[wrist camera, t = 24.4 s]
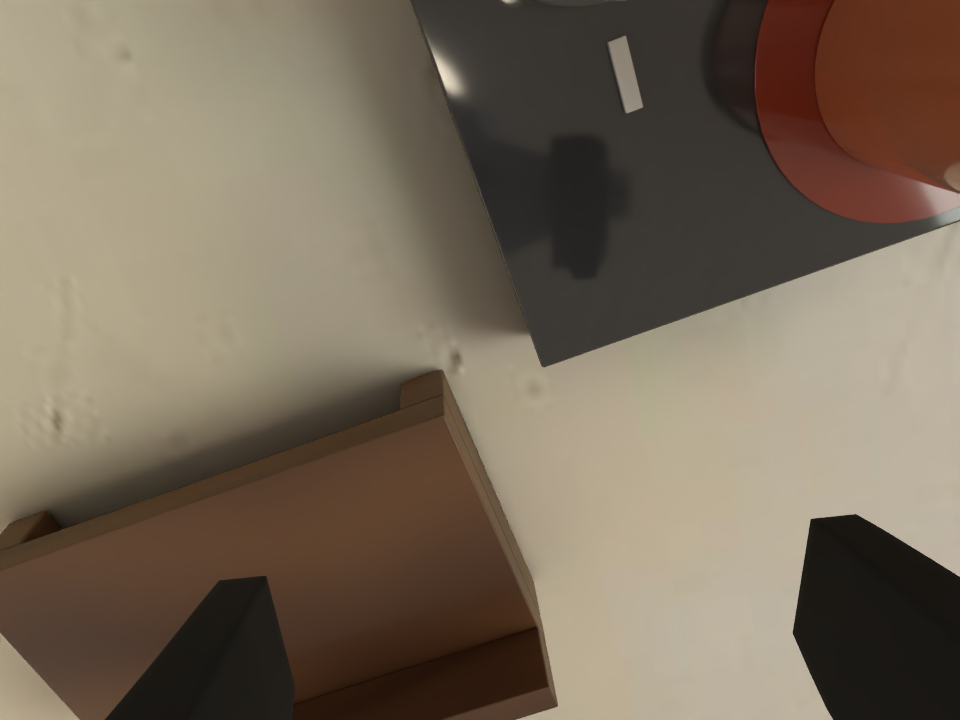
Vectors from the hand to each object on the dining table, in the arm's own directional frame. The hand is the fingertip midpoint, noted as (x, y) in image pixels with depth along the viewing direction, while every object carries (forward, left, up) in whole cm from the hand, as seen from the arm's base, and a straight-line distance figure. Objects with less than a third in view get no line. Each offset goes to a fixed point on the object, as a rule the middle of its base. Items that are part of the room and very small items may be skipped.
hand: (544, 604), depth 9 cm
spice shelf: (+5, -8, -10) cm, 13 cm away
